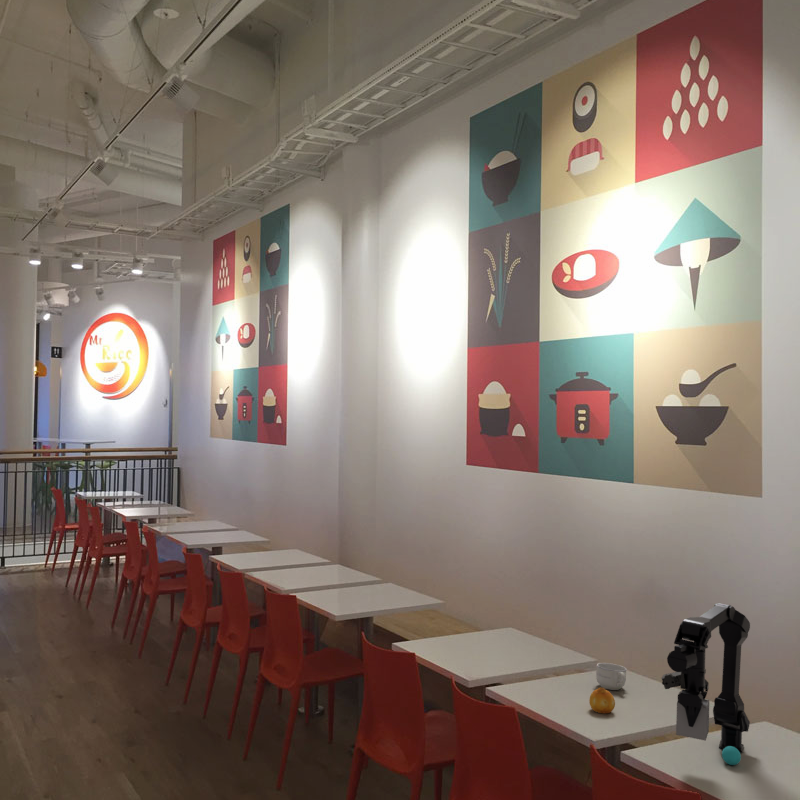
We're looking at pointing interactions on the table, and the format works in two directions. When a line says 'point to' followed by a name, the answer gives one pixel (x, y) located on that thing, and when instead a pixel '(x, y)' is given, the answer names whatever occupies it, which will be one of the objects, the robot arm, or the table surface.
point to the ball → (731, 755)
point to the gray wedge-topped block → (699, 727)
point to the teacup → (611, 676)
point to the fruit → (602, 701)
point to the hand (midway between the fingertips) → (692, 722)
